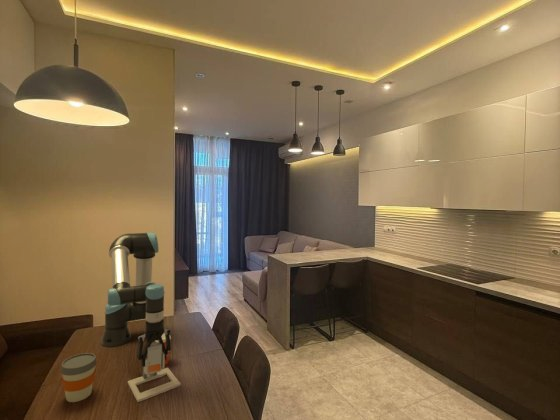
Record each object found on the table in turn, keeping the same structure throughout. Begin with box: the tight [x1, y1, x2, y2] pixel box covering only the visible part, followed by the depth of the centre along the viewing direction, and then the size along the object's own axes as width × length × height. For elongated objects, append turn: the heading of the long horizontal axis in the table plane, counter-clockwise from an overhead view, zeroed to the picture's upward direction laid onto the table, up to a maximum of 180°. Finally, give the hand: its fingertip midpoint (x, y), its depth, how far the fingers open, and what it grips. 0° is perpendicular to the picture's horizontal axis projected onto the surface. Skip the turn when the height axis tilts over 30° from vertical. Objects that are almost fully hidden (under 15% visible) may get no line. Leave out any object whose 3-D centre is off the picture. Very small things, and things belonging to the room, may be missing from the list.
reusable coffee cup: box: [60, 352, 97, 403], centre depth 126 cm, size 13×13×15 cm
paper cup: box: [154, 333, 172, 367], centre depth 152 cm, size 8×8×14 cm
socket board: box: [127, 367, 181, 403], centre depth 135 cm, size 16×18×6 cm
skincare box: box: [146, 341, 162, 374], centre depth 134 cm, size 6×4×12 cm
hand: (154, 369), depth 134 cm, fingers closed on skincare box, 7 cm apart
